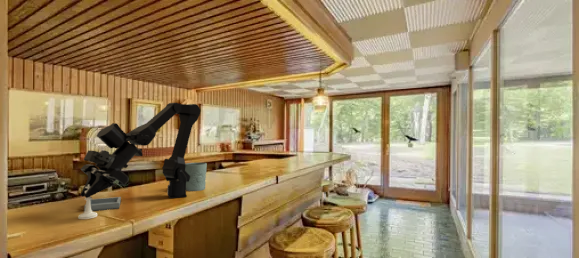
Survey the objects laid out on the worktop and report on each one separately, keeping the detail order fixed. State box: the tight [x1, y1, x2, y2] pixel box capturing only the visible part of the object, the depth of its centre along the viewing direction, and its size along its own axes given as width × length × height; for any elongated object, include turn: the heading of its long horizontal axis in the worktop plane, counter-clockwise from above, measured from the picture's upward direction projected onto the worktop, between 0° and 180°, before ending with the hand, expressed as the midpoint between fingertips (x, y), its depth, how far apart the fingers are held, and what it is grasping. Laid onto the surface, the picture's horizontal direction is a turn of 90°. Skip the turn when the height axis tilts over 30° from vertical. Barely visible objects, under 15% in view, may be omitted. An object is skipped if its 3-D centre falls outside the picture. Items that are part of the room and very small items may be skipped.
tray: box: [83, 196, 122, 212], centre depth 99 cm, size 10×10×2 cm
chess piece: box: [77, 184, 98, 220], centre depth 88 cm, size 5×5×10 cm
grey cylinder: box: [185, 162, 208, 192], centre depth 132 cm, size 10×10×12 cm
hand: (83, 196), depth 87 cm, fingers closed on chess piece
